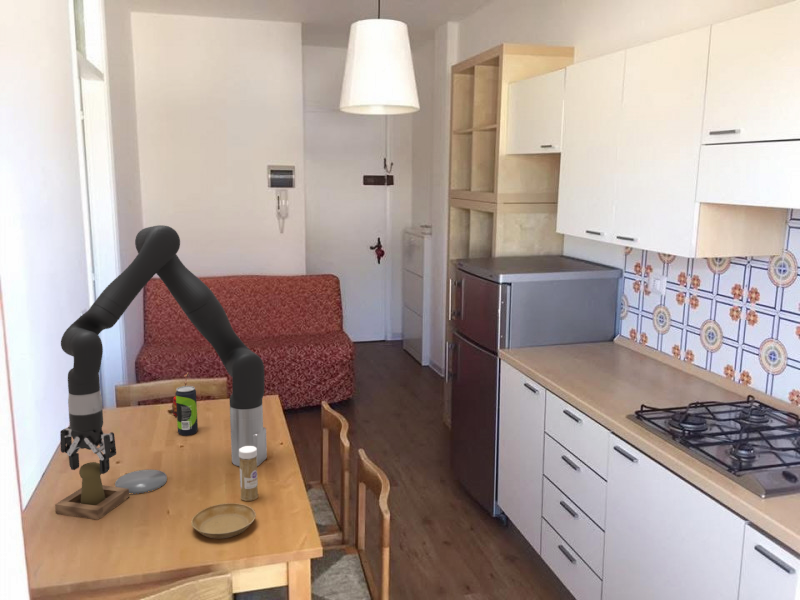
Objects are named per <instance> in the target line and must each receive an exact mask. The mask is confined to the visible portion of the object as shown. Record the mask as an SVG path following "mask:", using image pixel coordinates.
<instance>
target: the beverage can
mask: <svg viewBox="0 0 800 600" xmlns="http://www.w3.org/2000/svg"><path fill="white" fill-rule="evenodd" d="M175 390H176V392H175V393H176V408H177V417H176V422H177V423H176V424H177V425H176V426H177V433H178V434H179V435H180V436H182V437H183V436H185V437H187V436H193V435H195V434H196V433H197V432H198V429H199V428H198V426H199V425H198V407H197V405H198V404H197V390H196V387H195V386H193V385H186V386H185V385H183V386H178V387H176V389H175Z"/></svg>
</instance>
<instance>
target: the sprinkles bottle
mask: <svg viewBox="0 0 800 600" xmlns="http://www.w3.org/2000/svg"><path fill="white" fill-rule="evenodd" d="M256 457H257V448H256V447H254V446H244V447H242V448H240V449H239V458H240V466H239V483H240V484H239V485H240V499H241V500H242V501H244V502H250V501H251V502H252V501H254V500H256V499H258V498H259V493H258V485H259V484H258V466H257V460H256V459H257V458H256Z"/></svg>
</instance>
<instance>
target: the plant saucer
mask: <svg viewBox="0 0 800 600" xmlns="http://www.w3.org/2000/svg"><path fill="white" fill-rule="evenodd" d="M256 515H257V514H256V511H255V510H254V509H253V507H251V506H249V505H247V504H243V503H236V502H230V503H229V502H226V503H219V504H214V505H212V506H211V505H210V506H208V507H206V508H203V509H201V510H200V511H198V512H197V513H196V514H195V515H193V516H192V519H191V527H192V528H193V529H194V530H195V531H196V532H198V533H199V534H200V535H202V536H204V537H206V538H210V539H216V540H217V539H218V540H220V539H228V538H229V539H230V538H232V537H235V536H237V535H240V534H242V533H243V532H244V531H245V530H247V529H248V528H249V527H250V526H251V525H252V523H253V522H254V520H255V518H256V517H257V516H256Z"/></svg>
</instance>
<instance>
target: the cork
mask: <svg viewBox="0 0 800 600" xmlns="http://www.w3.org/2000/svg"><path fill="white" fill-rule="evenodd" d="M78 473H79V476H80V478H81V480H82V481H81V488H82V490H81V504H88V505H95V506H96V505H97V504H99V503H100V502H102V501H103V500H105V499H106V498H105V494H104V490H103V486H102V485H103V482H102V478H101V475H102V474H100V462H96V461H95V462H94V461H93V462H86V463H84V464H83V465H81V466H80V467H79V471H78Z"/></svg>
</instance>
